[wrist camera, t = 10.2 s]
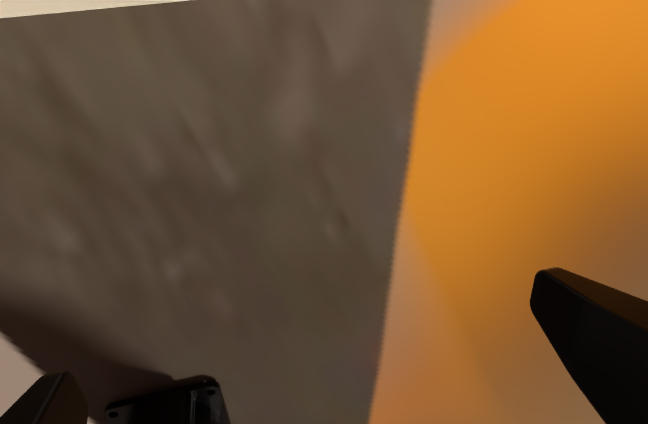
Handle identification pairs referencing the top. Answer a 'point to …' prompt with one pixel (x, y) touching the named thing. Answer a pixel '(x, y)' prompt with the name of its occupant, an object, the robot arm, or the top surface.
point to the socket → (64, 6)
